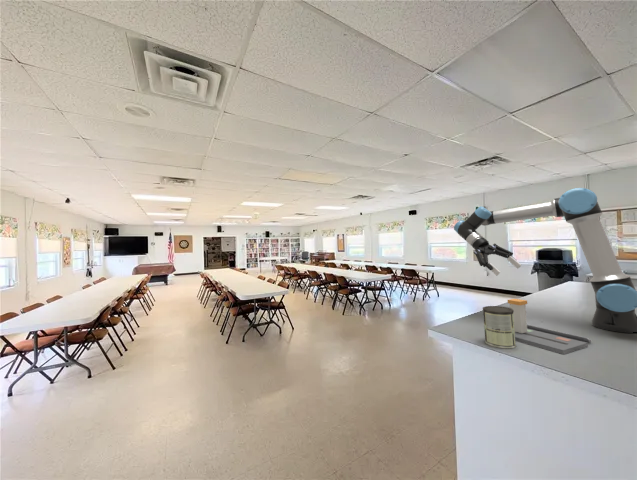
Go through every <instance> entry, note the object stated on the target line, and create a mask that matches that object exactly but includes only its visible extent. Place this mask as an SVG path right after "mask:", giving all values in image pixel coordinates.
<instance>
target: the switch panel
mask: <svg viewBox="0 0 637 480" xmlns="http://www.w3.org/2000/svg"><path fill="white" fill-rule="evenodd" d="M515 342H519V343H522V344H526V345H528V346H533V347H536V348H538V349H539V348H540V349H544V350H546V351H550V352H553V353H556V354H557V353H558V354H561V355H567V354H569V353H572V352H577V351H579V350H583V349H585V347H586V348H588V347H589V343H587V342H582V341H578V340H574V339H570V338H565V337H561V336H557V335H553V334H549V333H544V332H540V331H536V330H532V329H527V332H525V333H518V332H515ZM582 348H583V349H582Z"/></svg>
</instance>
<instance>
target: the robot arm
mask: <svg viewBox="0 0 637 480" xmlns="http://www.w3.org/2000/svg"><path fill="white" fill-rule="evenodd" d="M602 215H603V212H602V209H601V207H600V205H599V202H598V196H597V194H596V193H595V192H594V191H593V190H591V189H588V188H586V187H575V188H572V189H571V188H570V189H569V190H567V191H565V192H563V194H561V195H560V197H557V198H553V199H552V200H550V201H545V202H539V203H538V202H537V203H533V204H527V205H522V206H521V205H520V206H515V207H510V208H502V209H497V210H491V211H490V210H488V209H487V208H486V207H484V206H483V205H480V206H479V207H478V208H476V209H475V210H474V211H473V213H472V214H470V215H469V216H468V218H466V220H464V219H463V220H461V219H460V220H458V222H456V223H455V224H454V226H453V230H454V231H455V232H456V234H458V236H460V237H461V238H462V239H463V240H464V241H466V243H468V244H469V245H470V246H471V247H472V248H473V249H474V250H473V254H474V255H475V257H476V259H477V262H478V264H479V266H480V267H483V268H487V269H488V270H489V271H491V272H492V273H493V274H494V275H495V276H499V275H500V273H501V270H499V269H498V268H497V266H495V265H494V264H493V263H492V262H489V258H488V256H489V255H490V256H491V255H497V256H499V257H502V258H505V259H507V260H506V261H508V262H509V263H510V264H511V265H513V266H514V267H515V268H516V269H517V270H518V269H520V268H521V266H522V264H521V263H520V262H519V261H518V260H517V259H516V258H515V257H513V255H514V252H512V251H511V250H508V249H506V248H503V247H501V246H499V245H497V243H493V244H492V245H491V244H490V242H489V241H488V240H487V239H486V238H485V237H483V235H482V234H480V233H479V232H478V231H477V229H478V228H479V227H481V226H490V225H495V224H501V223H510V222H516V221H517V222H518V221H523V220H524V221H525V220H526V221H527V220H533V219H538V218H539V219H540V218H548V217H552V216H553V217H555V218H562V217H563V218H564V220H565V222H566V223H568V224H571V225H572V228H573V230H574V233H575V235H576V237H577V239H578V242H579V244H580V247H581V250H582V252H583V255H584V257H585V259H586V262H587V264H588V266H589V269H590V272H591V274H592V277H591V279H590V280H589V281H590V284H591V286H592V287H591V288H592V289H593V292H594V297H595V299H594V301H595V312H594V314H593V317H592V319H591V325H592V326H593V327H594V328H598V329H602V330H606V331H611V332H618V333H628V334H634V333H633V332H637V313H636V309H637V289H636V288H635V285H634V283H633V280H632V278H631V276H630V275H629V274H626V273H623V271H622V268H621V266H620V264H619V262H618V260H617V257H616V255H615V252H614V250H613V247H612V245H611V243H610V241H609V238H608V236H607V234H606V231H605V229H604V227H603V225H602V222H601V220H600V217H601V216H602Z"/></svg>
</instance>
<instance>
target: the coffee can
mask: <svg viewBox="0 0 637 480" xmlns="http://www.w3.org/2000/svg"><path fill="white" fill-rule="evenodd" d="M482 311H483V312H482V313H483V314H482V315H483V327H484V328H483V329H484V342H485V344H487V345H488V346H491V347H494V348H499V349H513V348H514V349H515V348H516V347H517V346H516V345H517V344H516V341H515V330H514V317H513V312H514V310H513V309H511V308H510V307H506V306H501V305H500V306H499V305H488V306H483V307H482Z"/></svg>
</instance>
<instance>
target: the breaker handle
mask: <svg viewBox="0 0 637 480" xmlns="http://www.w3.org/2000/svg"><path fill="white" fill-rule="evenodd" d="M507 304H509V308H511V309H513V310H514V312H513V317H514V330H515V332H518V333H525V332H527V325H528V321H527V310H526V309H527V308H526V305H527V304H528V300H527V299H521V298H511V299H507Z"/></svg>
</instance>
